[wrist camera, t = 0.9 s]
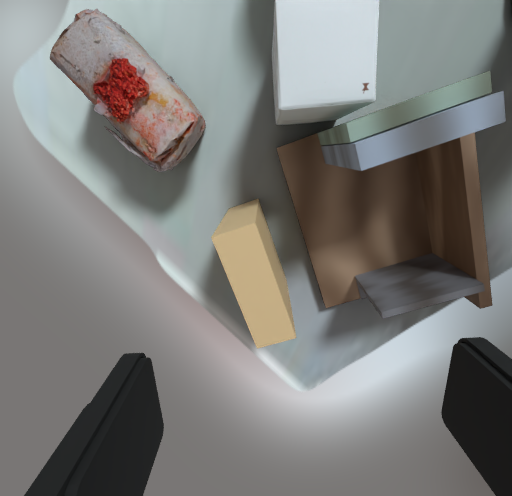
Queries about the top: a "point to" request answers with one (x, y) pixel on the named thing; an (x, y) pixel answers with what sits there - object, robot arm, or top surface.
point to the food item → (129, 90)
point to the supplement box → (323, 58)
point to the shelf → (398, 201)
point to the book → (255, 273)
